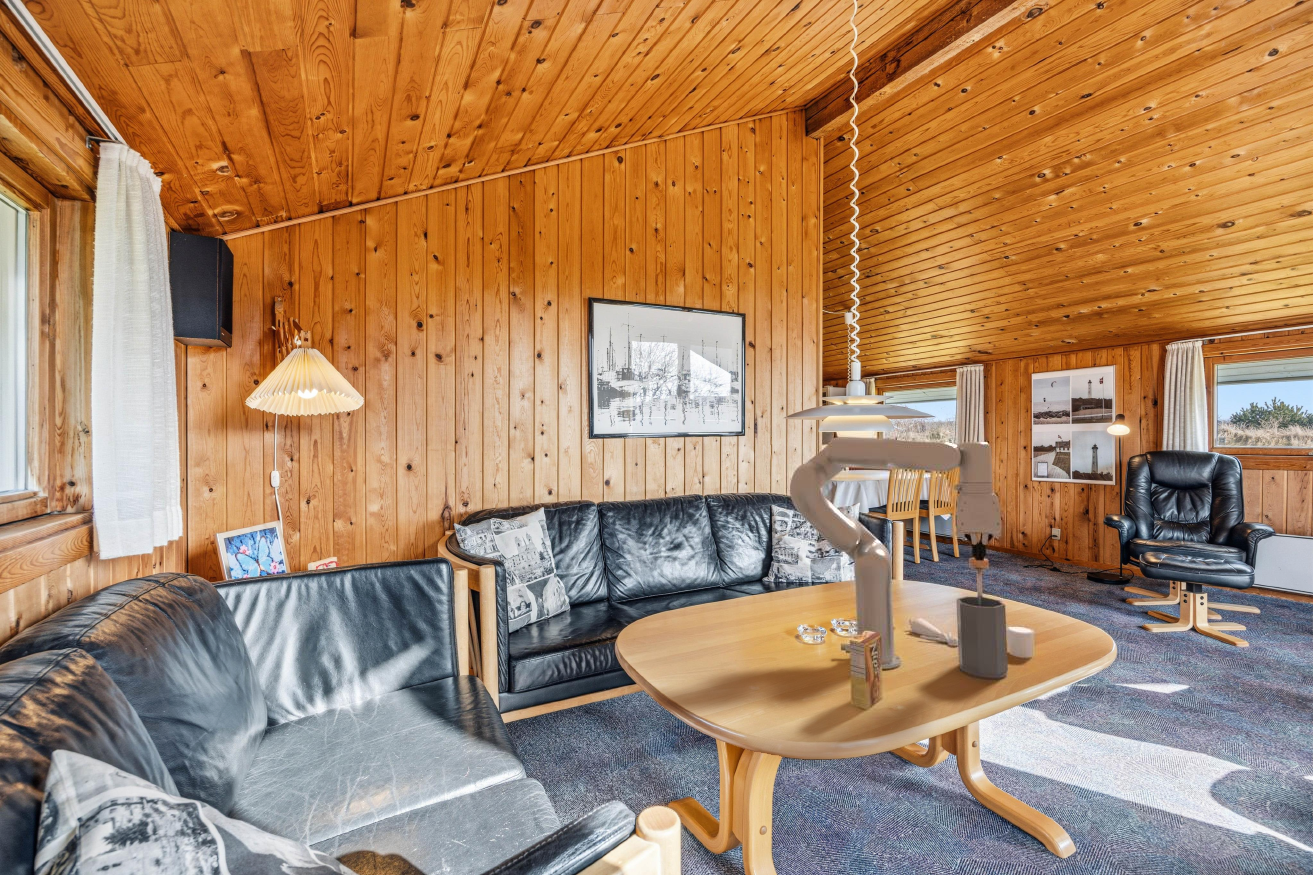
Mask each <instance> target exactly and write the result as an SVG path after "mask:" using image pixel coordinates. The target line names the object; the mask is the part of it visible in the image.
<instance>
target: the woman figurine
mask: <svg viewBox="0 0 1313 875" xmlns="http://www.w3.org/2000/svg"><path fill="white" fill-rule="evenodd" d="M908 624H909V625H910V630H911V633H913V634H916V635H917V634H918V635H920V637H919V638H921V639H928V640H932V641H938V642H943V643H947V645H948V646H950V647H958V637H953V636H951V631H948V633H947V632H946V631H944V632H941V630H939V629H938V628H936V627H935V626H934V625H932V624H931V623H930V622H928V621H927V620H926V619H924V618H915V619H914V620H913V621H912V619H909V620H908Z"/></svg>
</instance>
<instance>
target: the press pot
mask: <svg viewBox="0 0 1313 875" xmlns="http://www.w3.org/2000/svg"><path fill="white" fill-rule="evenodd" d="M1006 615H1007V614H1006V604H1004V602H1003V601H1001V599H999V600H998V599H995V598H990V597H986V596H983V607H979V606H978V597H977V596H968V595H967V596H963V597H958V598H956V622H957V639H958V646H957V647H958V649H957V650H958V663H959V670H960V671H961V672H962V673H964V674H965V675H967V676H970V677H972V678H973V677H974V678H978V679H983V680H1001V679H1005V678H1006V677H1007V676H1008V671H1009V668H1008V667H1009V665H1008V640H1007V633H1006V627H1007V617H1006Z"/></svg>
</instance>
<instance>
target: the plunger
mask: <svg viewBox="0 0 1313 875" xmlns="http://www.w3.org/2000/svg"><path fill="white" fill-rule="evenodd" d="M968 563H969V564H968V566H969V568H970V569H973V570H976V590H977V592H976V594H977V596H976V597H978V606H979V607H983V597H984V596H983V592H984V591H983V570H988V569H989V567H990V566H989V565H990V564H989V559H988V558H985V557H984V560H976V559H975V558H974V557H969V558H968Z"/></svg>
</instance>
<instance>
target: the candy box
mask: <svg viewBox="0 0 1313 875" xmlns="http://www.w3.org/2000/svg"><path fill="white" fill-rule="evenodd" d="M849 644H850V653H849V658H850V659H849V660H850V661H849V662H850V664H849V666H850V667H849V668H850V669H849V670H850V703H851V704H850V705H851V706H852V705H853V706H852V707H855V706H856V708H859V707H860V708H859V709H863V710H866V711H867V710H869V709H870V708H872V707H873V706H874V705H876V703H878V702H879V701H880V700H882V699H883V698H884V696H883V695H884V694H883V669H882V647H881V634H880V633H876V632H871V631H864V632H862V633H861V634H859V635H857V634H856V635H855V636H854V637H852V638H850V639H849Z"/></svg>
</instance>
